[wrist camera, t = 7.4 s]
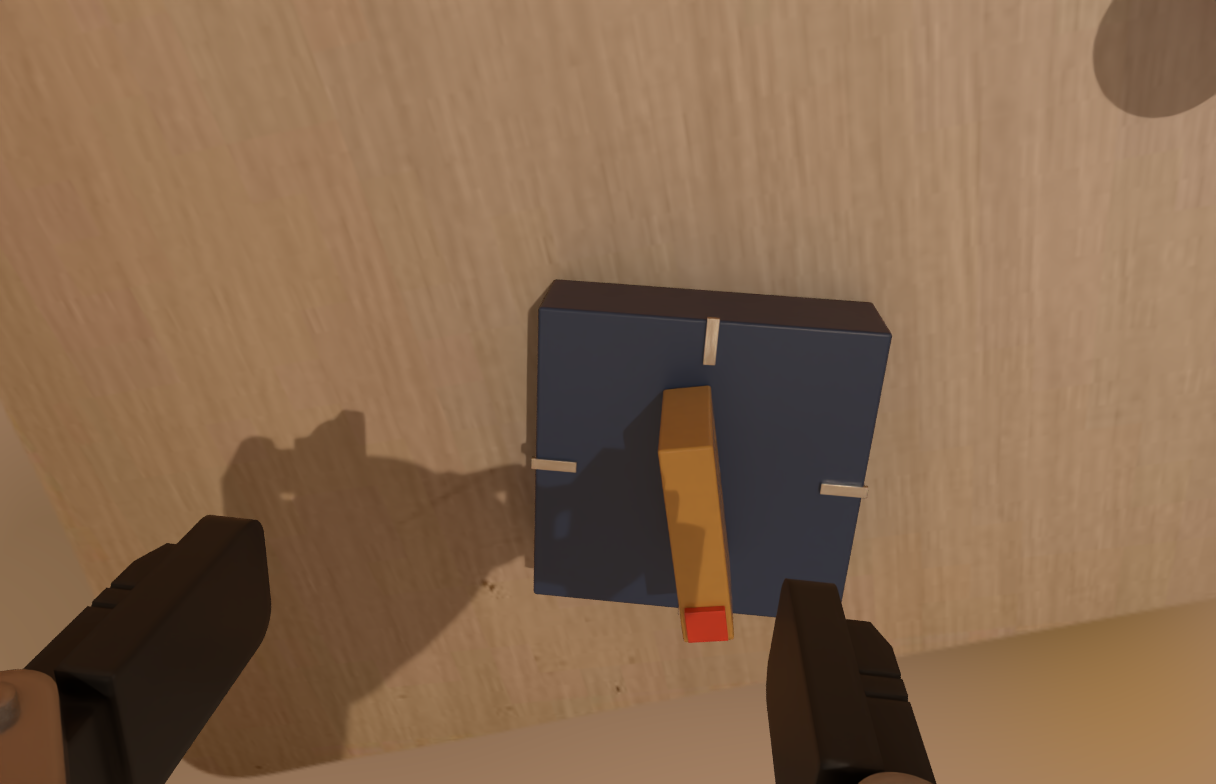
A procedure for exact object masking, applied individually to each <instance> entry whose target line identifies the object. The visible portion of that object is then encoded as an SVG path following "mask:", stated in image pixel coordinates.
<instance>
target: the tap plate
mask: <svg viewBox="0 0 1216 784" xmlns="http://www.w3.org/2000/svg"><path fill="white" fill-rule="evenodd" d="M891 338H892V335H891V333H890V331H889V329H888V328H887V326H886V324H885V323H884V321H883V320H882V318H881V316H880V315H879V313H878V311H877V310H876V308H875V307H874V305H873V304H872V303H869V302H856V301H842V300H829V299H815V298H801V297H788V296H774V295H760V294H747V293H733V292H720V291H706V290H692V289H679V288H665V287H651V286H638V285H624V284H611V283H597V282H583V281H570V280H554V281H553V283H552V285H551V287H550V289H549V291H548V292H547V294H546V296H545V298H544V300H543V302H542V303H541V305H540V307H539V309H538V364H537V422H536V457H532V459H531V469H536V480H535V538H534V593H535V594H542V595H552V596H562V597H573V598H583V599H593V600H603V601H614V602H624V603H634V604H644V605H655V606H665V607H675V608H678V614H679V615H680V611H679V604H678V597H677V589H676V582H675V575H674V568H673V560H672V553H671V546H670V538H669V531H668V524H667V516H666V509H665V502H664V495H663V487H662V480H661V473H660V465H659V458H658V444H659V433H660V421H661V410H662V399H663V391H664V390H667V389H677V388H688V387H698V386H710V387H711V392H712V401H713V411H714V420H715V429H716V439H717V448H718V457H719V467H720V476H721V485H722V494H723V504H724V513H725V522H726V532H727V541H728V550H729V561H730V578H731V594H732V611H733V613H737V614H747V615H757V616H767V617H776V615H777V609H778V604H779V598H780V593H781V588H782V584H783V581H784V579H785V578H788V579H797V580H806V581H815V582H825V583H834V584H836V586H837V589H838V592H839V596H840V600H841V602H842V597H843V592H844V586H845V581H846V576H847V570H848V565H849V560H850V555H851V549H852V544H853V539H854V534H855V528H856V523H857V518H858V512H859V507H860V502H861V498H867V494H868V489H869V488H868V486H865V485H864V481H865V476H866V470H867V465H868V460H869V454H870V449H871V444H872V439H873V433H874V428H875V423H876V418H877V412H878V407H879V402H880V396H881V391H882V386H883V381H884V375H885V370H886V365H887V359H888V354H889V349H890V344H891Z"/></svg>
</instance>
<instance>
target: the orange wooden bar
mask: <svg viewBox="0 0 1216 784" xmlns="http://www.w3.org/2000/svg"><path fill="white" fill-rule="evenodd" d="M658 458H659V465H660V473H661V480H662V487H663V495H664V502H665V509H666V516H667V524H668V531H669V538H670V546H671V553H672V560H673V568H674V575H675V582H676V589H677V597H678V604H679V611H680V619H681V626H682V633H683V639H684V641H685V642H689V643H693V642H711V641H728V640H731V639H733V638H734V627H733V611H732V594H731V578H730V561H729V550H728V541H727V532H726V522H725V513H724V504H723V494H722V485H721V476H720V467H719V457H718V448H717V439H716V429H715V420H714V411H713V401H712V392H711V387H710V386H698V387H688V388H677V389H667V390H664V391H663V399H662V410H661V421H660V433H659V444H658Z"/></svg>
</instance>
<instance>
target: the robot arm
mask: <svg viewBox="0 0 1216 784" xmlns="http://www.w3.org/2000/svg"><path fill="white" fill-rule="evenodd" d="M270 614H271V596H270V586H269V576H268V567H267V557H266V547H265V537H264V531H263V527H262V525H261V523H260V522H259V521H258V520H253V519H244V518H234V517H225V516H216V515H207V516H205V517H203V518H202V519H201V520H200V521H199V522H198V523H197V524H196V525H195V526H194V527H193V528H192V529H191V530H190V531H189V532H188V533H187V534H186V535H185V536H184V537H183V538H182V539H181V540H180V541H179V542H178V543H177V544H170V543H166V544H165V545H163V546H161V547H159V548H157V549H155V550H154V551H152V552H150V553H148V554H146V555H144V556H142V557H141V558H139V559H137V560H135V561H134V562H133V563H131V564H130V565H129V566H128V567H127V568H126V569H125V570H124V571H123V572H122V573H121V574H120V575H119V576H118V577H117V578H116V579H115V580H114V581H113V582H112V583H111V587H110V588H106V589H105V590H104V591H103V592H102V593H101V594H100V595H99V596H98V597H97V598H95V599H94V600H93V602H92V606H91V607H89V606H87V607H86V608H85V609H84V610H83V611H82V612H81V613H80V614H79V615H78V616H77V617H76V618H75V619H74V620H73V621H72V622H71V623H70V624H69V625H68V626H67V627H66V628H65V629H64V630H63V631H62V632H61V633H59V635H57V636H56V637H55V638H54V639H53V640H52V641H51V642H50V643H49V644H48V645H47V646H46V647H45V648H44V649H43V650H42V651H41V652H40V653H39V654H38V655H37V656H36V657H35V658H34V659H33V660H32V661H31V662H30V663H29V664H28V665H27V666H26V667H25V668H24V669H15V670H6V671H0V784H165V782H166V781H167V780H168V778H169V777H170V775H171V774H172V772H173V771H174V769H175V768H176V766H177V765H178V764H179V762H180V761H181V759H182V758H183V756H184V755H185V753H186V752H187V750H188V749H189V748H190V746H191V745H192V743H193V742H194V740H195V739H196V737H197V736H198V734H199V733H200V732H201V730H202V729H203V727H204V726H205V724H206V723H207V721H208V720H209V718H210V717H211V716H212V714H213V713H214V711H215V710H216V708H217V707H218V705H219V704H220V702H221V701H222V700H223V698H224V697H225V695H226V694H227V692H228V691H229V689H230V688H231V687H232V685H233V684H234V682H235V681H236V679H237V678H238V676H239V675H240V673H241V672H242V671H243V669H244V668H245V666H246V665H247V663H248V662H249V660H250V659H251V657H252V656H253V655H254V653H255V652H256V650H257V649H258V647H259V646H260V644H261V643H262V641H263V639H264V636H265V634H266V631H267V628H268V625H269V620H270ZM900 676H901V673H900V670H899V667H898V664H897V661H896V657H895V654H894V651H893V648H892V646H891V645H890V644H889V643H888V642H887V641H886V639H885V638H884V637H883V636H882V635H881V634H880V633H879V631H878V630H877V629H876V628H875V627H874V626H873V625H872V623H871V622H867V621H858V620H849V619H845V615H844V611H843V607H842V604H841V600H840V596H839V592H838V589H837V586H836V584H834V583H825V582H815V581H806V580H797V579H788V578H785V579H784V581H783V584H782V588H781V593H780V598H779V604H778V609H777V615H776V620H775V626H774V632H773V637H772V643H771V648H770V654H769V660H768V667H767V681H766V700H767V711H768V720H769V728H770V737H771V746H772V755H773V764H774V772H775V782H776V784H936V781H935V778H934V775H933V772H932V769H931V766H930V762H929V759H928V756H927V753H926V750H925V747H924V744H923V741H922V738H921V735H920V732H919V729H918V726H917V722H916V719H915V716H914V713H913V710H912V707H911V704H910V702H908V694H907V691H906V688H905V686H904V682H903V680H902V679H901V677H900Z"/></svg>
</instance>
